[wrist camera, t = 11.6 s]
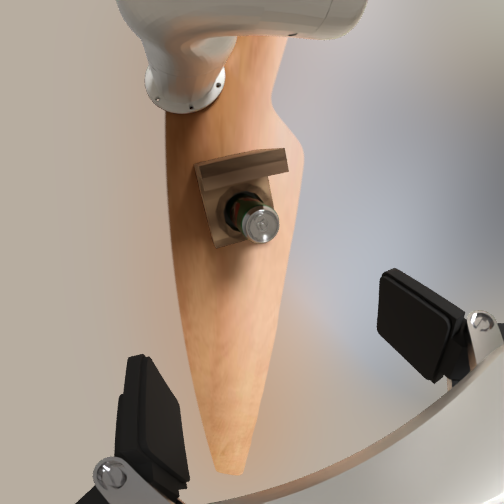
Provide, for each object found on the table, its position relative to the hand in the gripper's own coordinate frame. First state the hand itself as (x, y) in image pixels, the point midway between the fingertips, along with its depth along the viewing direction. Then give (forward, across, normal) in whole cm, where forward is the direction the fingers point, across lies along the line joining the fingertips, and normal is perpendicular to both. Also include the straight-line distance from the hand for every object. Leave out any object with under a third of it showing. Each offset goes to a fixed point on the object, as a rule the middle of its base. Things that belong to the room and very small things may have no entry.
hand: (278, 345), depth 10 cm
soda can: (+36, -6, +3) cm, 37 cm away
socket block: (+36, -6, +1) cm, 37 cm away
